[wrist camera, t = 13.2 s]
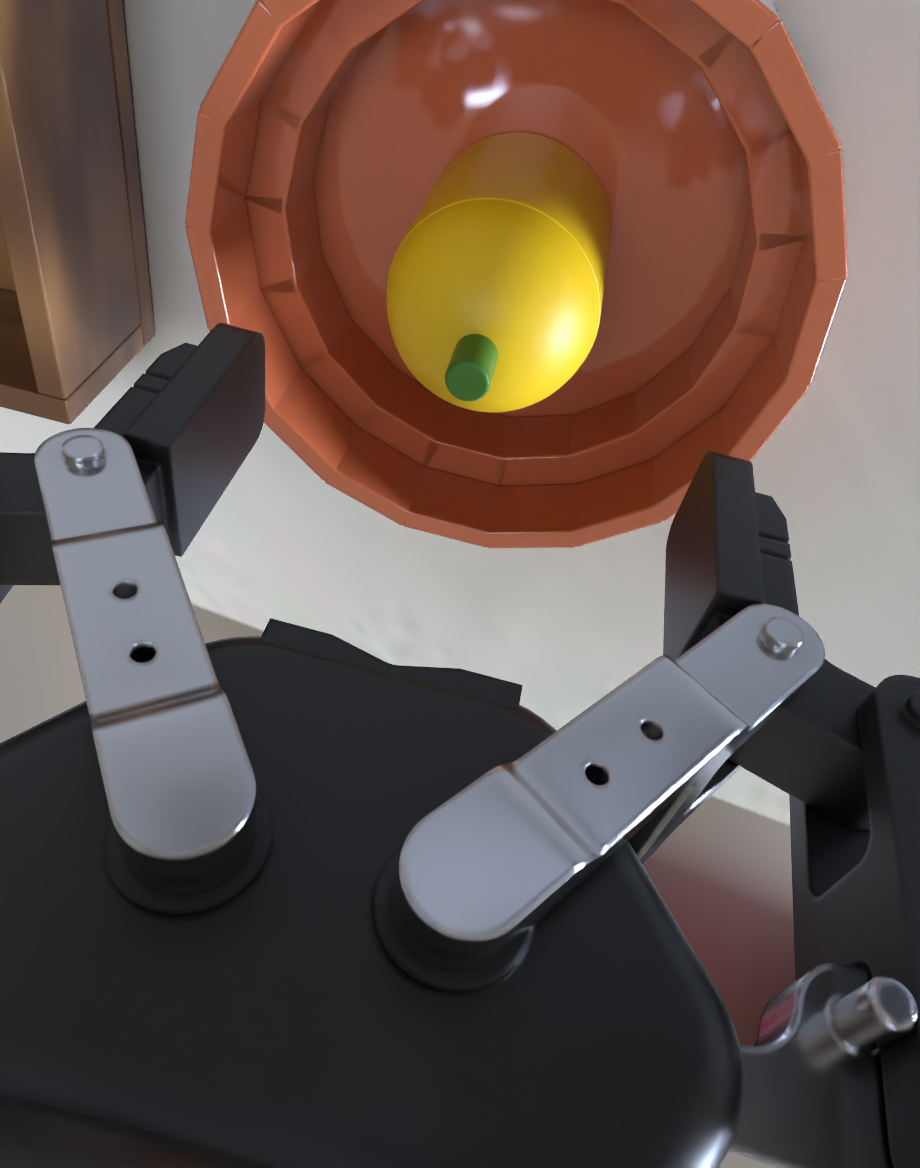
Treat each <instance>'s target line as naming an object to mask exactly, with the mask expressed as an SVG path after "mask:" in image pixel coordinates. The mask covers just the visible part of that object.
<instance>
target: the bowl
mask: <svg viewBox="0 0 920 1168" xmlns="http://www.w3.org/2000/svg"><path fill="white" fill-rule="evenodd" d="M511 132H525V133H532V134H538V135H542V136H545V137H548V138H551V139H553V140H555V141H557V142H559V143H561V144H563V145H565V146H566V147H568V148H569V149H571V150H572V151H574V152H575V153H576V154H577V155H578V156H579V157H580V158H582V159H583V160H584V161H585V162H586V164H587V165H588V166H589V167H590V169H591V170H592V171H593V172H594V174H595V176H596V177H597V179H598V180H599V182H600V184H601V186H602V189H603V191H604V193H605V195H606V199H607V202H608V206H609V211H610V218H611V238H610V247H609V255H608V262H607V270H606V278H605V285H604V293H603V301H602V309H601V316H600V324H599V328H598V332H597V336H596V339H595V341H594V344H593V346H592V348H591V350H590V352H589V354H588V356H587V357H586V359H585V361H584V362H583V363H582V365H581V366H580V367H579V368H578V370H577V371H576V372H575V373H574V375H573V376H572V377H571V378H570V379H569V380H568V381H567V382H566V383H565V384H564V385H563V386H562V387H560V388H559V389H558V390H557V391H555V392H554V393H553V394H551V395H550V396H548V397H546V398H545V399H543V400H541V401H539V402H537V403H534V404H532V405H529V406H527V407H524V408H521V409H517V410H513V411H507V412H492V413H490V412H479V411H474V410H469V409H465V408H462V407H459V406H456V405H454V404H452V403H449V402H447V401H445V400H443V399H442V398H440V397H438V396H437V395H435V394H434V393H432V392H431V391H430V390H428V389H427V388H426V387H425V386H424V385H423V384H422V383H420V382H419V381H418V380H417V379H416V377H415V376H414V375H413V374H412V373H411V371H410V370H409V369H408V367H407V366H406V364H405V362H404V361H403V359H402V358H401V356H400V354H399V352H398V350H397V348H396V346H395V343H394V340H393V337H392V334H391V330H390V325H389V320H388V315H387V296H386V295H387V281H388V275H389V270H390V267H391V264H392V261H393V258H394V255H395V253H396V252H397V250H398V248H399V246H400V244H401V242H402V240H403V239H404V237H405V235H406V234H407V232H408V230H409V229H410V227H411V225H412V223H413V222H414V220H415V218H416V217H417V215H418V213H419V212H420V210H421V208H422V207H423V205H424V203H425V201H426V200H427V198H428V196H429V195H430V193H431V191H432V190H433V188H434V186H435V185H436V183H437V181H438V179H439V178H440V176H441V175H442V173H443V172H444V170H445V169H446V167H447V166H448V165H449V164H450V163H451V162H452V161H453V159H454V158H455V157H456V156H457V155H459V154H460V153H461V152H462V151H464V150H465V149H466V148H468V147H469V146H471V145H473V144H474V143H476V142H478V141H480V140H482V139H485V138H487V137H490V136H494V135H498V134H502V133H511ZM185 223H186V232H187V236H188V241H189V245H190V250H191V254H192V259H193V263H194V267H195V272H196V276H197V281H198V285H199V290H200V294H201V299H202V303H203V308H204V312H205V317H206V321H207V326H208V328H209V329H210V331H211V330H212V329H213V328H214V327H215V326H216V325H217V324H218V323H224V324H228V325H232V326H236V327H240V328H243V329H247V330H251V331H255V332H259V333H261V334H262V335H263V337H264V340H265V416H264V421H263V422H264V423H265V424H266V425H267V426H268V427H269V428H270V429H271V430H272V431H273V432H274V433H275V434H276V435H277V436H278V437H279V438H280V439H281V440H282V441H283V442H284V443H286V444H287V445H288V446H289V447H290V448H291V449H292V450H293V451H294V452H295V453H296V454H297V455H298V456H299V457H300V458H301V459H302V460H303V461H304V462H305V463H306V464H307V465H308V466H309V467H310V468H311V469H312V470H313V471H314V472H315V473H316V474H317V475H318V476H319V477H320V478H321V479H322V480H324V481H325V482H326V483H327V484H329V485H331V486H332V487H334V488H336V489H338V490H339V491H341V492H343V493H345V494H347V495H348V496H350V497H352V498H354V499H355V500H357V501H359V502H361V503H363V504H364V505H366V506H368V507H370V508H371V509H373V510H375V511H377V512H379V513H380V514H382V515H384V516H386V517H387V518H389V519H391V520H393V521H395V522H396V523H398V524H400V525H403V526H405V527H409V528H413V529H416V530H420V531H424V532H428V533H432V534H436V535H440V536H443V537H447V538H451V539H455V540H459V541H463V542H467V543H470V544H474V545H478V546H482V547H488V548H556V547H576V546H582V545H585V544H589V543H592V542H596V541H599V540H602V539H606V538H609V537H613V536H616V535H620V534H623V533H626V532H630V531H633V530H637V529H640V528H643V527H647V526H650V525H654V524H657V523H661V522H663V521H665V520H667V519H669V518H670V517H672V516H673V515H675V514H676V513H677V511H678V509H679V507H680V504H681V502H682V500H683V498H684V496H685V494H686V492H687V490H688V488H689V486H690V484H691V481H692V479H693V477H694V475H695V473H696V471H697V469H698V467H699V465H700V463H701V461H702V459H703V457H704V456H705V454H706V453H707V452H708V451H713V452H716V453H720V454H724V455H728V456H732V457H736V458H739V459H743V460H747V461H751V460H752V459H753V457H754V456H755V455H756V454H757V452H758V451H759V450H760V449H761V447H762V446H763V445H764V444H765V442H766V441H767V440H768V439H769V437H770V436H771V435H772V434H773V432H774V431H775V430H776V429H777V427H778V426H779V425H780V424H781V422H782V421H783V420H784V419H785V417H786V416H787V415H788V414H789V412H790V411H791V410H792V409H793V407H794V406H795V405H796V404H797V402H798V401H799V400H800V399H801V397H802V396H803V395H804V394H805V392H806V391H807V390H808V388H809V386H810V384H811V383H812V380H813V377H814V374H815V371H816V368H817V365H818V362H819V359H820V356H821V353H822V350H823V348H824V345H825V342H826V339H827V336H828V333H829V330H830V327H831V324H832V321H833V318H834V315H835V312H836V309H837V306H838V303H839V301H840V298H841V295H842V292H843V289H844V286H845V283H846V280H847V279H846V277H847V275H848V268H847V246H846V224H845V202H844V180H843V158H842V149H841V144H840V142H839V140H838V138H837V135H836V133H835V131H834V129H833V127H832V125H831V123H830V121H829V119H828V117H827V115H826V113H825V110H824V108H823V106H822V104H821V102H820V100H819V98H818V96H817V94H816V92H815V90H814V87H813V85H812V83H811V81H810V79H809V77H808V75H807V73H806V71H805V69H804V67H803V64H802V62H801V60H800V58H799V56H798V54H797V52H796V50H795V48H794V46H793V44H792V42H791V39H790V37H789V35H788V33H787V31H786V29H785V27H784V25H783V23H782V21H781V19H780V17H779V14H778V12H777V10H776V8H775V6H774V4H773V2H772V0H257V1H256V2H255V4H254V6H253V8H252V10H251V12H250V14H249V15H248V17H247V19H246V21H245V23H244V25H243V27H242V28H241V30H240V32H239V34H238V36H237V38H236V40H235V42H234V43H233V45H232V47H231V49H230V51H229V53H228V55H227V56H226V58H225V60H224V62H223V64H222V66H221V68H220V70H219V71H218V73H217V75H216V77H215V79H214V81H213V83H212V84H211V86H210V88H209V90H208V92H207V94H206V96H205V97H204V99H203V101H202V103H201V105H200V110H199V111H198V117H197V126H196V135H195V143H194V152H193V160H192V169H191V178H190V186H189V195H188V204H187V212H186V221H185Z"/></svg>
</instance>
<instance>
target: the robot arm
mask: <svg viewBox="0 0 920 1168" xmlns="http://www.w3.org/2000/svg"><path fill="white" fill-rule="evenodd" d="M264 416H265V340H264V337H263V335H262V334H261V333H259V332H255V331H251V330H247V329H243V328H240V327H236V326H232V325H228V324H224V323H218V324H217V325H216V326H215V327H214V328H213V329H212V330H211V331H210V333H209V334H208V335H207V336H206V337H205V338H204V340H203V341H202V342H201V343H200V344H199V345H198V346H196V345H192V344H188V343H184V344H182V345H180V346H178V347H175V348H173V349H171V350H169V351H167V352H165V353H163V354H161V355H160V356H159V357H158V358H157V359H156V360H155V361H154V362H153V364H152V365H151V366H150V367H149V368H148V369H147V370H146V374H142V376H141V377H140V378H139V379H138V380H137V381H136V382H135V383H134V387H131V388H130V389H129V390H128V391H127V392H126V393H125V394H124V395H123V396H122V398H121V399H120V400H119V401H118V402H117V403H116V404H115V405H114V406H113V407H112V409H111V410H110V411H109V412H108V413H107V414H106V415H105V416H104V417H103V418H102V419H101V421H100V422H99V423H98V424H97V425H96V426H95V427H94V428H78V429H72V430H67V431H64V432H60V433H58V434H56V435H53V436H52V437H50V438H48V439H47V440H45V441H44V442H43V443H42V444H41V445H40V446H39V447H38V449H37V451H36V452H35V453H0V603H1V602H2V600H3V599H4V597H5V596H6V595H7V593H8V592H9V591H10V589H11V588H12V587H13V585H61V589H62V593H63V598H64V603H65V607H66V611H67V616H68V620H69V625H70V630H71V634H72V638H73V643H74V648H75V652H76V657H77V661H78V666H79V670H80V675H81V679H82V684H83V688H84V693H85V697H86V701H84V702H82V703H80V704H78V705H77V706H75V707H72V708H70V709H68V710H66V711H64V712H62V713H60V714H58V715H56V716H54V717H52V718H51V719H48V720H46V721H44V722H42V723H40V724H38V725H36V726H34V727H32V728H30V729H28V730H26V731H24V732H23V733H20V734H18V735H16V736H14V737H12V738H10V739H8V740H6V741H4V742H2V743H0V1168H920V678H917V677H913V676H908V675H894V676H890V677H888V678H886V679H884V680H883V681H882V682H881V683H880V684H879V685H878V686H877V687H876V688H875V687H873V686H871V685H869V684H867V683H865V682H864V681H862V680H860V679H858V678H856V677H854V676H852V675H850V674H848V673H846V672H844V671H842V670H841V669H839V668H837V667H836V666H834V665H833V664H831V663H830V662H828V661H827V660H826V659H824V658H825V650H824V646H823V643H822V641H821V639H820V637H819V635H818V634H817V633H816V631H815V630H814V629H813V628H812V627H811V626H810V625H809V624H808V623H807V622H806V621H805V620H803V619H802V618H801V617H799V612H798V604H797V597H796V590H795V582H794V575H793V567H792V561H790V558H791V552H790V545H789V544H788V541H789V537H788V530H787V522H786V518H785V516H784V515H783V513H782V512H781V510H780V509H779V507H778V505H777V504H776V502H775V501H774V499H773V498H772V497H771V496H767V495H764V494H760V493H756V492H755V488H754V478H753V467H752V463H751V462H750V461H747V460H743V459H739V458H736V457H732V456H728V455H724V454H720V453H716V452H713V451H708V452H707V453H706V454H705V456H704V457H703V459H702V461H701V463H700V465H699V467H698V469H697V471H696V473H695V475H694V477H693V479H692V481H691V484H690V486H689V488H688V490H687V492H686V494H685V496H684V498H683V500H682V502H681V504H680V507H679V509H678V511H677V513H676V515H675V517H674V520H673V522H672V525H671V528H670V532H669V536H668V540H667V546H666V573H665V610H664V647H663V656H660V657H658V658H657V659H655V660H654V661H652V662H651V663H650V664H648V665H647V666H646V667H644V668H643V669H641V670H640V671H639V672H637V673H636V674H635V675H633V676H632V677H630V678H629V679H628V680H626V681H625V682H624V683H622V684H621V685H619V686H618V687H617V688H615V689H614V690H613V691H611V692H610V693H609V694H607V695H606V696H604V697H603V698H602V699H600V700H599V701H598V702H596V703H595V704H593V705H592V706H591V707H589V708H588V709H587V710H585V711H584V712H582V713H581V714H580V715H578V716H577V717H576V718H574V719H573V720H571V721H570V722H569V723H567V724H566V725H565V726H563V727H562V728H560V729H559V730H558V731H556V730H555V729H554V728H553V727H552V726H551V725H549V724H548V723H547V722H546V721H545V720H543V719H542V718H541V717H539V716H538V715H536V714H535V713H533V712H532V711H530V710H528V709H527V708H525V707H523V706H521V705H519V702H520V696H521V691H522V685H519V684H515V683H512V682H508V681H504V680H500V679H497V678H493V677H489V676H485V675H482V674H478V673H474V672H470V671H467V670H463V669H454V668H435V667H415V666H398V665H392V664H389V663H386V662H384V661H382V660H380V659H378V658H376V657H374V656H373V655H371V654H369V653H367V652H365V651H363V650H361V649H359V648H357V647H355V646H353V645H351V644H349V643H347V642H345V641H343V640H341V639H339V638H337V637H335V636H333V635H331V634H327V633H323V632H320V631H316V630H312V629H308V628H305V627H301V626H297V625H293V624H290V623H286V622H282V621H278V620H274V619H271V618H270V620H269V622H268V624H267V626H266V628H265V630H264V632H263V634H262V636H261V637H258V636H249V637H234V638H228V639H221V640H218V641H213V642H209V643H204V640H203V637H202V634H201V631H200V628H199V625H198V622H197V619H196V617H195V613H194V610H193V608H192V605H191V602H190V599H189V596H188V593H187V590H186V587H185V584H184V581H183V578H182V576H181V573H180V570H179V567H178V564H177V561H176V558H175V555H177V556H180V557H182V555H183V554H184V552H185V551H186V549H187V548H188V546H189V545H190V543H191V541H192V540H193V538H194V537H195V535H196V534H197V532H198V531H199V529H200V528H201V526H202V524H203V523H204V521H205V520H206V518H207V517H208V515H209V514H210V512H211V511H212V509H213V507H214V506H215V504H216V503H217V501H218V500H219V498H220V497H221V495H222V494H223V492H224V490H225V489H226V487H227V486H228V484H229V483H230V481H231V480H232V478H233V477H234V475H235V474H236V472H237V470H238V469H239V467H240V466H241V464H242V463H243V461H244V460H245V458H246V457H247V455H248V453H249V452H250V450H251V449H252V447H253V446H254V444H255V443H256V441H257V439H258V437H259V435H260V432H261V429H262V426H263V421H264ZM741 767H743V768H745V769H746V770H748V771H750V772H752V773H753V774H755V775H757V776H759V777H760V778H762V779H764V780H766V781H767V782H769V783H771V784H773V785H774V786H776V787H778V788H780V789H781V790H783V791H785V792H787V793H788V794H789V795H790V826H791V856H792V885H793V886H792V887H793V917H794V945H795V946H794V948H795V978H796V981H795V982H794V983H793V984H791V985H790V986H788V987H787V988H786V989H784V990H783V991H782V992H780V993H779V994H777V995H776V996H775V997H773V998H772V999H771V1000H770V1001H769V1002H768V1003H767V1004H766V1006H765V1008H764V1009H763V1011H762V1014H761V1017H760V1021H759V1027H758V1034H757V1039H756V1042H755V1045H754V1046H743V1045H739V1043H738V1038H737V1035H736V1031H735V1028H734V1025H733V1022H732V1019H731V1017H730V1015H729V1012H728V1010H727V1008H726V1006H725V1004H724V1002H723V1000H722V998H721V996H720V994H719V993H718V991H717V989H716V987H715V986H714V984H713V982H712V981H711V979H710V977H709V976H708V974H707V972H706V971H705V969H704V967H703V966H702V964H701V962H700V961H699V959H698V957H697V956H696V954H695V952H694V951H693V949H692V947H691V946H690V944H689V942H688V941H687V939H686V937H685V936H684V934H683V932H682V931H681V929H680V927H679V925H678V924H677V922H676V920H675V919H674V917H673V915H672V914H671V912H670V910H669V909H668V907H667V905H666V904H665V902H664V900H663V899H662V897H661V895H660V894H659V892H658V890H657V889H656V887H655V885H654V884H653V882H652V880H651V879H650V877H649V875H648V874H647V872H646V870H645V869H644V867H643V865H642V864H643V863H644V862H645V861H646V860H647V859H648V858H649V857H650V856H651V855H652V854H653V853H654V852H655V851H656V850H657V848H658V847H659V846H660V845H661V844H662V843H663V842H664V841H665V840H666V838H667V837H668V836H669V835H670V834H671V833H672V832H673V831H674V830H675V829H676V828H677V827H678V826H679V825H680V824H681V823H682V822H683V821H684V820H685V819H686V818H687V817H688V816H689V815H691V813H693V812H694V811H695V810H696V809H697V808H698V807H699V806H700V805H701V804H702V803H703V802H704V801H706V800H707V799H708V798H709V797H710V796H711V795H712V794H713V793H714V792H715V791H716V790H717V789H718V788H719V787H721V786H722V785H723V784H724V783H725V782H726V781H727V780H728V779H729V778H730V777H731V776H732V775H733V774H734V773H736V772H737V771H738V770H739V769H740V768H741Z"/></svg>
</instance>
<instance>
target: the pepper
mask: <svg viewBox="0 0 920 1168" xmlns="http://www.w3.org/2000/svg"><path fill="white" fill-rule="evenodd" d="M610 238H611V218H610V211H609V206H608V202H607V199H606V195H605V193H604V191H603V189H602V186H601V184H600V182H599V180H598V179H597V177H596V176H595V174H594V172H593V171H592V170H591V169H590V167H589V166H588V165H587V164H586V162H585V161H584V160H583V159H582V158H580V157H579V156H578V155H577V154H576V153H575V152H574V151H572V150H571V149H569V148H568V147H566V146H565V145H563V144H561V143H559V142H557V141H555V140H553V139H551V138H548V137H545V136H542V135H538V134H532V133H525V132H511V133H502V134H498V135H494V136H490V137H487V138H485V139H482V140H480V141H478V142H476V143H474V144H473V145H471V146H469V147H468V148H466V149H465V150H464V151H462V152H461V153H460V154H459V155H457V156H456V157H455V158H454V159H453V161H452V162H451V163H450V164H449V165H448V166H447V167H446V169H445V170H444V172H443V173H442V175H441V176H440V178H439V179H438V181H437V183H436V185H435V186H434V188H433V190H432V191H431V193H430V195H429V196H428V198H427V200H426V201H425V203H424V205H423V207H422V208H421V210H420V212H419V213H418V215H417V217H416V218H415V220H414V222H413V223H412V225H411V227H410V229H409V230H408V232H407V234H406V235H405V237H404V239H403V240H402V242H401V244H400V246H399V248H398V250H397V252H396V253H395V255H394V258H393V261H392V264H391V267H390V270H389V275H388V281H387V295H386V296H387V315H388V320H389V325H390V330H391V334H392V337H393V340H394V343H395V346H396V348H397V350H398V352H399V354H400V356H401V358H402V359H403V361H404V362H405V364H406V366H407V367H408V369H409V370H410V371H411V373H412V374H413V375H414V376H415V377H416V379H417V380H418V381H419V382H420V383H422V384H423V385H424V386H425V387H426V388H427V389H428V390H430V391H431V392H432V393H434V394H435V395H437V396H438V397H440V398H442V399H443V400H445V401H447V402H449V403H452V404H454V405H456V406H459V407H462V408H465V409H469V410H474V411H479V412H490V413H492V412H507V411H513V410H517V409H521V408H524V407H527V406H529V405H532V404H534V403H537V402H539V401H541V400H543V399H545V398H546V397H548V396H550V395H551V394H553V393H554V392H555V391H557V390H558V389H559V388H560V387H562V386H563V385H564V384H565V383H566V382H567V381H568V380H569V379H570V378H571V377H572V376H573V375H574V373H575V372H576V371H577V370H578V368H579V367H580V366H581V365H582V363H583V362H584V361H585V359H586V357H587V356H588V354H589V352H590V350H591V348H592V346H593V344H594V341H595V339H596V336H597V332H598V328H599V324H600V316H601V309H602V301H603V293H604V285H605V278H606V270H607V262H608V255H609V247H610Z"/></svg>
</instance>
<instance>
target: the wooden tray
mask: <svg viewBox="0 0 920 1168" xmlns="http://www.w3.org/2000/svg"><path fill="white" fill-rule="evenodd" d="M153 336H154V324H153V314H152V303H151V293H150V283H149V272H148V262H147V252H146V241H145V231H144V221H143V210H142V200H141V190H140V179H139V169H138V158H137V148H136V138H135V127H134V117H133V107H132V96H131V86H130V76H129V65H128V55H127V45H126V34H125V24H124V13H123V3H122V0H0V407H4V408H8V409H12V410H16V411H19V412H23V413H27V414H31V415H35V416H39V417H43V418H46V419H50V420H54V421H58V422H62V423H66V424H71V423H72V422H73V421H74V420H75V419H76V418H77V417H78V416H79V415H80V414H81V412H82V411H83V410H84V409H85V408H86V407H87V406H88V405H89V404H90V403H91V402H92V401H93V400H94V399H95V398H96V397H97V395H98V394H99V393H100V392H101V391H102V390H103V389H104V388H105V387H106V386H107V385H108V384H109V383H110V382H111V381H112V380H113V379H114V377H115V376H116V375H117V374H118V373H119V372H120V371H121V370H122V369H123V368H124V367H125V366H126V365H127V364H128V363H129V362H130V361H131V359H132V358H133V357H134V356H135V355H136V354H137V353H138V352H139V351H140V350H141V349H142V348H143V345H145V344H146V343H147V342H148V341H149V340H150V339H151V338H152V337H153Z"/></svg>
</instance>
